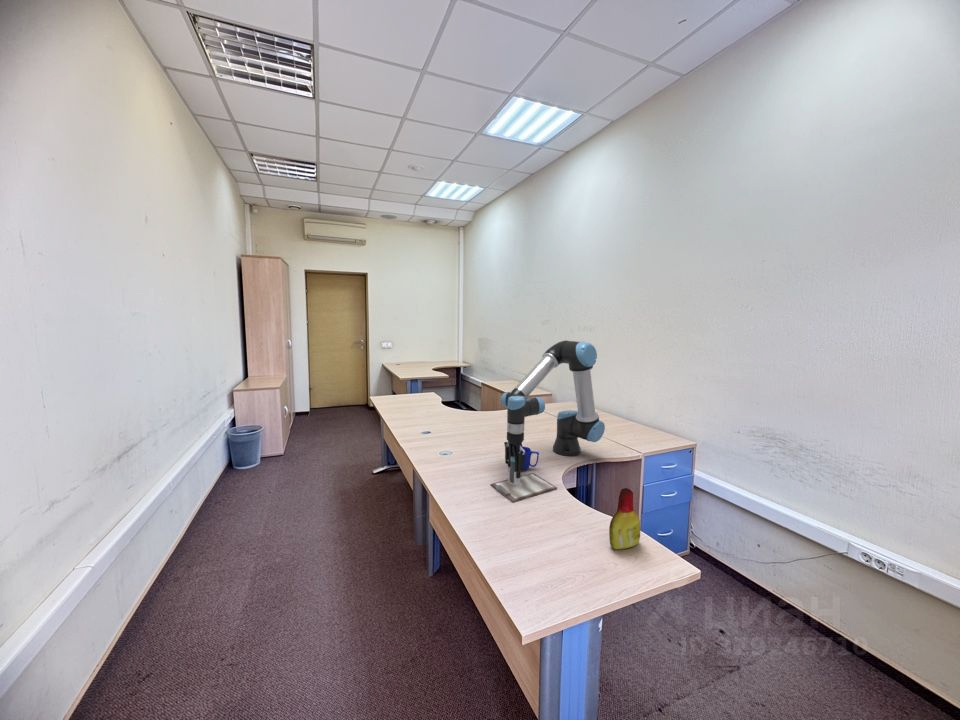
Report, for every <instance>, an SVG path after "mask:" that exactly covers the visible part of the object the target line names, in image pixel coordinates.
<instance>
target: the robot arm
mask: <svg viewBox="0 0 960 720" xmlns="http://www.w3.org/2000/svg"><path fill="white" fill-rule="evenodd" d="M597 357H598V353H597V349H596V347H595V346H594V345H593V344H592V343H591V342H585V341H575V340H574V341H573V340H561V341H558V342H557V343H555V344H553V345H552V346H550V347H549V348H547V350H546V351H545V352H544V353H542V355H541V359H540V360H539V361H538V362H537V363H536V364H535V365H534V366H533V368H531V370H530V371H528V373H526V375H525V376H523V378H522V379H521V380H520V381H519V383H518V384H517V385H516V386H515V387H513V389H512V390H511V391H506V392H503V393H502V395H501V396H500V403H501V405H502V406H503V407H504V408H506V410H507V413H506V418H507V419H506V420H507V421H506V422H507V423H506V431H507V432H506V441H505V442H504V443H503V444H504V457H505V458H504V460H505V462H504V463H505V464H507V468H508V469H507V472H508V475H507V476H508V477H507V478H508V479H507V480H508V481H509V482H510V463H511V461H510V459H511V456H514V457H515V470H514V485H519V484H520V476H522V475H521V472H524V465H525V454H526V450H524V449H523V448H522V447H523V442H524V440H525V418H526V417H531V416H538V415H540V414H542V413H544V412H545V410H546V404H545V400H543V398H541V397H535V396H534V397H529V396H530V395H531V393H533V391H534V390H535V389H537V387H538V386H539V385H540V384H541V382H542V381H543V380H544V379H545V378H546V377H547V376H548V375H549V373H550V372H551V371H552V370H553V369H555V368H558V367H559V365H561V364H568V368H569V369H568V370H569V371H571V372H572V374H573V375H572V376H573V377H572V378H573V385H574V392H575V399H576V408H577V410H572V409H569V410H568V409H567V410H560V411H559V412H558V413H557V417H556V437H555V440H554V443H553V446H552V451H553V452H554V453H555V454H557V455H560V456H565V457H573V456H575V457H576V456H578V455H580V454H581V447H580V442H579V439H582V440H585V441H587V442H592V443H596V442H599V441H600V440H601V439H602V438H603V435H604V434H605V429H606V425H605V422H603V421H602V420H600V418H599V417H600V416H599V414H598V413H597V412H596V408H595V399H594V391H593V383H592V382H593V381H592V374H591V370H592V369H594V365H595V364H596V362H597V359H598V358H597Z"/></svg>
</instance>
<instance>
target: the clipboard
mask: <svg viewBox="0 0 960 720" xmlns="http://www.w3.org/2000/svg"><path fill="white" fill-rule="evenodd" d="M489 485H490V487H491V488H493V489H494V490H495V491H497V492H498V493H499V494H500V495H502V496H504V498H506V499H507V500H508V501H510V502H511V503H512V504H513V503H516V502H517V503H518V502H520V501H524V500H526V499H530V498H533V497H537V496H539V495H542V494H546V493H550V492H552V491H555V490H558V487H557V486H556V485H554V484H552V483H550V482H549V481H548V480H545V479H544V478H542V477H541V476H538V475H537V474H536V473H533V472H531V473H527V474H523V475H521V476H520V484H519V485H516V486H513V485H511V484H510V482H509V481H508V479H505V480H504V479H503V480H501V481H497V482H493V483H490V484H489Z"/></svg>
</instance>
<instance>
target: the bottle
mask: <svg viewBox="0 0 960 720" xmlns="http://www.w3.org/2000/svg"><path fill="white" fill-rule="evenodd" d="M608 531H609V544H610V546H611V548H612V549H614V550H622V549H628V548H629V549H630V548H632V547H635V546H636V545H638V544H640V538H641V520H640V517H639V515H638V514H637V512H636V510H635V509H634V492H633V491H632V490H631V489H630V488H628V487H624V488H622V489H621V490H620V492H619V495H618V503H617V509H616V512H615V513H614V515H613V516H612V518H611V520H610V522H609V530H608Z"/></svg>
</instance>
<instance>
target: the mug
mask: <svg viewBox="0 0 960 720" xmlns="http://www.w3.org/2000/svg"><path fill="white" fill-rule="evenodd" d="M522 448H523V449H524V450H526V454H525V465H524V471H525V472H526V471H527V470H529V469H530V467H531V468H534V467H536V466H537V465H538V462H539V457H540V456H539V455H540V453H539V451H532V450H531V449H532V448H530V447H527V446H522ZM532 454H536V455H537V456H536V461H535V464H531V459H532V458H531V457H532ZM524 471H523V472H524Z"/></svg>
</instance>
